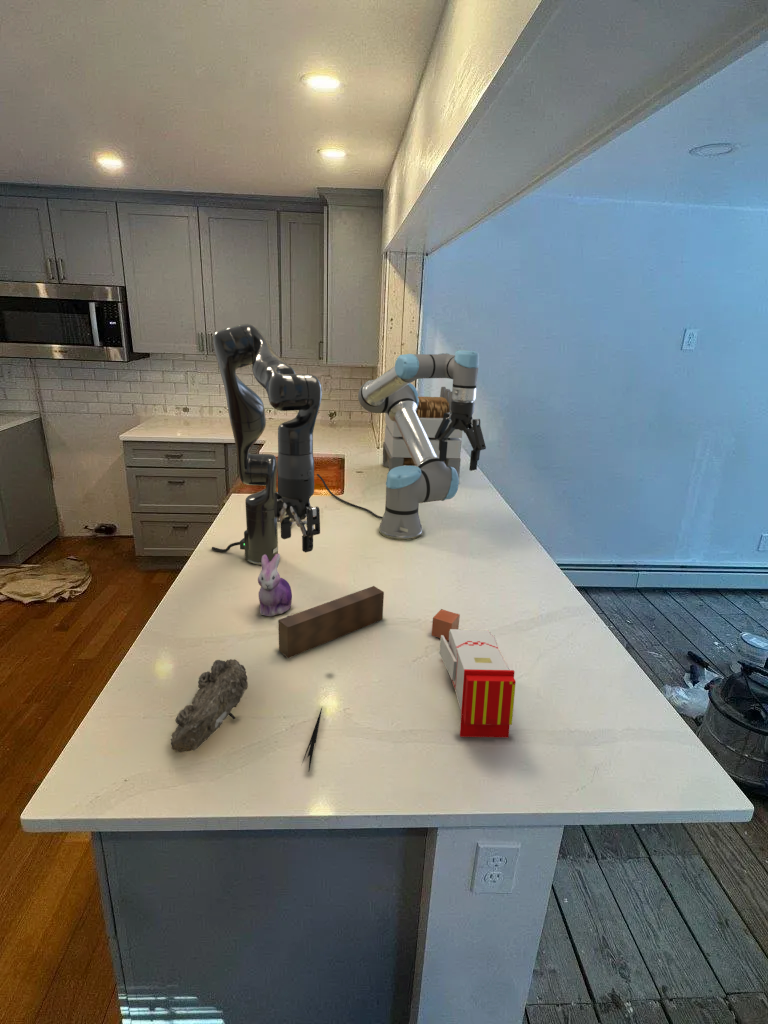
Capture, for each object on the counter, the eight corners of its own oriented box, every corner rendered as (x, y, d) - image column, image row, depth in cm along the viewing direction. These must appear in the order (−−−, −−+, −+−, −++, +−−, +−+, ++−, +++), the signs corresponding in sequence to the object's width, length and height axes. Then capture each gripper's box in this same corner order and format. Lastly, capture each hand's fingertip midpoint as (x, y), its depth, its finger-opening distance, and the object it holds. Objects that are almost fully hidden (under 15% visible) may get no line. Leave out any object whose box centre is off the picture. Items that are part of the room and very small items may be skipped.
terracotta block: (431, 635, 139) (432, 617, 137) (439, 626, 143) (441, 608, 141) (450, 641, 136) (451, 623, 135) (458, 632, 140) (459, 614, 139)
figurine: (263, 621, 141) (261, 566, 136) (252, 602, 149) (250, 550, 144) (299, 613, 145) (298, 560, 140) (286, 596, 154) (285, 545, 148)
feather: (331, 679, 122) (336, 673, 122) (307, 777, 96) (313, 769, 95) (324, 675, 122) (329, 669, 121) (298, 772, 95) (304, 764, 95)
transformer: (381, 463, 289) (385, 382, 275) (444, 464, 292) (450, 384, 279) (389, 482, 257) (393, 392, 243) (459, 483, 261) (467, 394, 247)
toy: (489, 613, 130) (525, 677, 101) (485, 667, 133) (518, 744, 104) (437, 612, 130) (457, 676, 101) (434, 666, 133) (453, 743, 103)
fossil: (195, 660, 117) (247, 628, 112) (227, 691, 120) (279, 661, 115) (146, 746, 98) (206, 711, 93) (185, 779, 101) (245, 748, 96)
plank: (288, 658, 127) (287, 627, 124) (278, 650, 130) (278, 619, 127) (382, 619, 144) (384, 591, 142) (372, 613, 147) (373, 585, 145)
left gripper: (262, 467, 120) (264, 538, 125) (299, 484, 110) (300, 560, 115) (292, 462, 124) (293, 530, 130) (330, 478, 114) (330, 551, 120)
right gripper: (427, 396, 187) (423, 458, 194) (485, 407, 170) (478, 475, 177) (443, 394, 192) (438, 455, 199) (501, 405, 174) (494, 472, 182)
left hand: (296, 544), depth 123 cm, fingers open, 8 cm apart
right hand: (457, 465), depth 188 cm, fingers open, 13 cm apart
